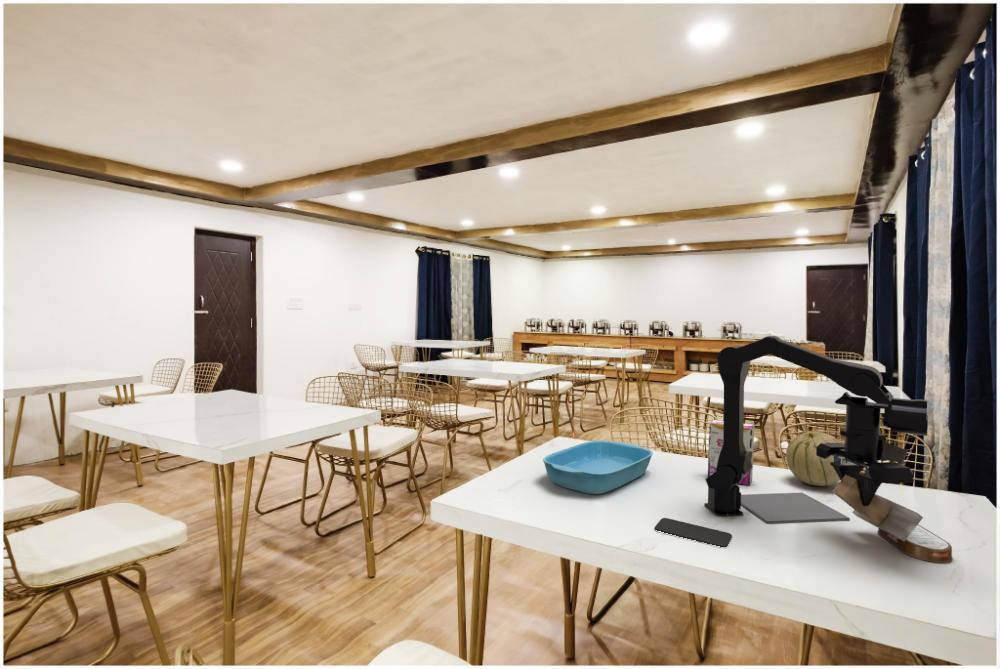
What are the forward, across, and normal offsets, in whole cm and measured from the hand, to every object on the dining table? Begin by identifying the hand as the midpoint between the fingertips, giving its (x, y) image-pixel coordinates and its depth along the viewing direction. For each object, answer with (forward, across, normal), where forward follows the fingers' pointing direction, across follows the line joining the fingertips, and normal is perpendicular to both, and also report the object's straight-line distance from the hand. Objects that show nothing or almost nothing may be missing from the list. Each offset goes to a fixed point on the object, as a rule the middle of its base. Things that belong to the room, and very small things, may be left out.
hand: (859, 502), depth 105 cm
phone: (+9, +8, +32) cm, 34 cm away
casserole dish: (+9, +45, +42) cm, 62 cm away
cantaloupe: (+9, +34, -16) cm, 39 cm away
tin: (+7, 0, -7) cm, 10 cm away
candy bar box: (+9, +39, +6) cm, 40 cm away
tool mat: (+9, +19, +2) cm, 21 cm away
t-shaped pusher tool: (+1, 0, +1) cm, 2 cm away
